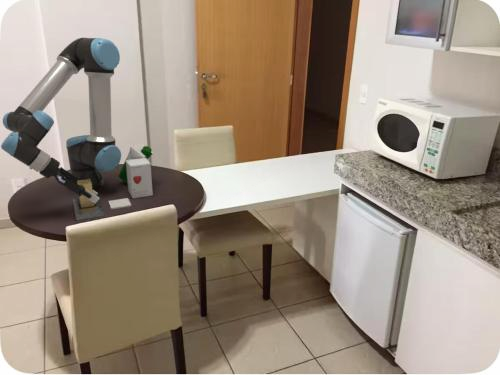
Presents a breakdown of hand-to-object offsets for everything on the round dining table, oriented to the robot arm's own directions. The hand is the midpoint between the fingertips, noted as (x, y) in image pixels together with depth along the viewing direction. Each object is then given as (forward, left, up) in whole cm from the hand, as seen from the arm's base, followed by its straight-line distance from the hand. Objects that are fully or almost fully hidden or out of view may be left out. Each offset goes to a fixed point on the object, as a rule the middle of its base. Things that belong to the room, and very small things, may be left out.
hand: (96, 198), depth 171 cm
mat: (+4, +8, -4) cm, 10 cm away
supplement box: (+2, +21, -5) cm, 21 cm away
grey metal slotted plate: (-2, -3, -4) cm, 6 cm away
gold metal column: (-2, -3, -4) cm, 6 cm away
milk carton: (-13, +27, -3) cm, 30 cm away
